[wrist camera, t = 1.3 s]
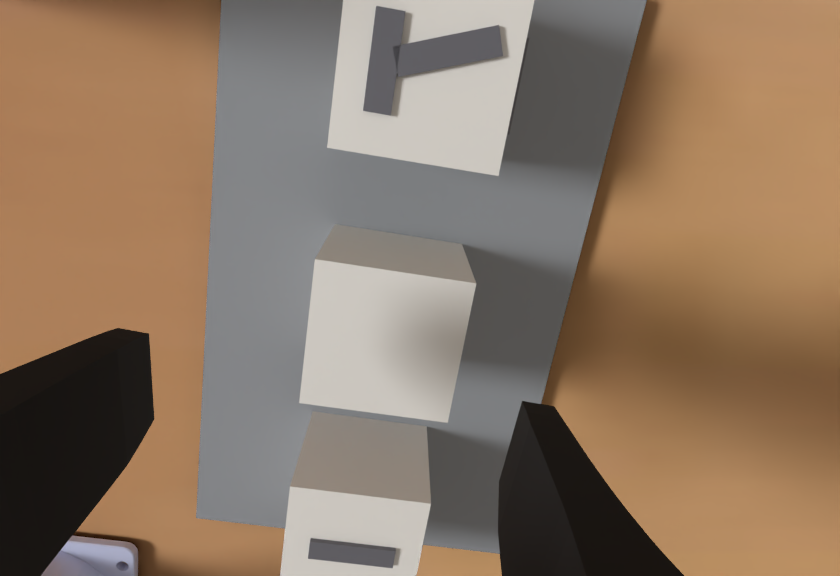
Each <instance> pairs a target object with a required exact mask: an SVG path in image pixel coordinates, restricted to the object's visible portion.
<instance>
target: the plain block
mask: <svg viewBox="0 0 840 576" xmlns="http://www.w3.org/2000/svg"><path fill="white" fill-rule="evenodd" d="M475 288H476V281H475V279H474V276H473V273H472V270H471V268H470V265H469V262H468V259H467V257H466V254H465V251H464V248H463V246H462V244H459V243H453V242H446V241H440V240H433V239H427V238H421V237H414V236H408V235H401V234H395V233H388V232H382V231H376V230H369V229H363V228H356V227H350V226H344V225H337V224H335V225H334V227H333V229H332V230H331V232H330V234H329V235H328V237H327V239H326V241H325V242H324V244H323V246H322V248H321V249H320V251H319V253H318V255H317V256H316V258H315V262H314V271H313V280H312V290H311V299H310V308H309V317H308V326H307V335H306V344H305V353H304V363H303V372H302V381H301V390H300V399H299V403H302V404H310V405H317V406H325V407H332V408H340V409H347V410H355V411H362V412H370V413H378V414H385V415H393V416H400V417H408V418H415V419H423V420H430V421H438V422H445V423H448V419H449V414H450V409H451V404H452V399H453V395H454V390H455V385H456V380H457V375H458V370H459V365H460V361H461V356H462V351H463V346H464V341H465V336H466V331H467V326H468V322H469V317H470V312H471V307H472V302H473V297H474V292H475Z"/></svg>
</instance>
